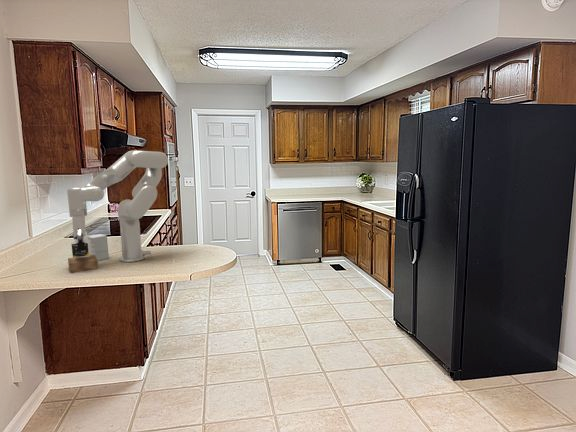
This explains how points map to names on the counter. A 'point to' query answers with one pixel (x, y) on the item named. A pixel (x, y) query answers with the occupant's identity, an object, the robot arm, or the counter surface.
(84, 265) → the walnut block
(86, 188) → the robot arm
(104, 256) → the supplement box
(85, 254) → the medicine bottle
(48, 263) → the counter surface
